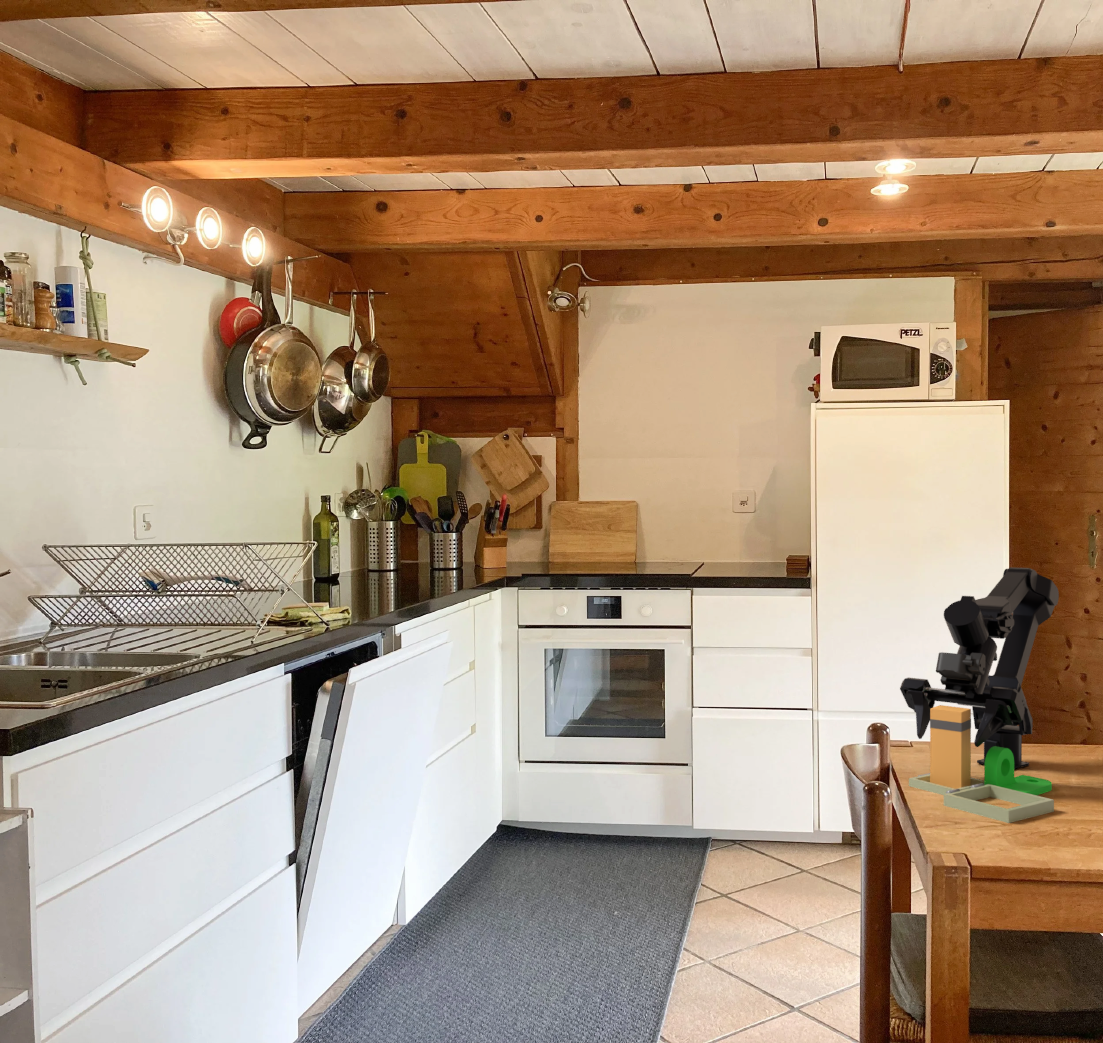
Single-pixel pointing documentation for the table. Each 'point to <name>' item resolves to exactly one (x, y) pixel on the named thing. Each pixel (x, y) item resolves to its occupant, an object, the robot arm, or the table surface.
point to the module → (950, 746)
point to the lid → (925, 784)
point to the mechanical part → (1010, 773)
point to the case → (1028, 808)
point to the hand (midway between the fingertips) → (947, 741)
